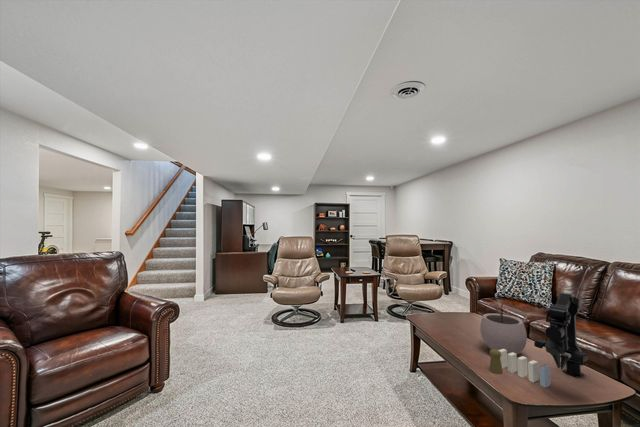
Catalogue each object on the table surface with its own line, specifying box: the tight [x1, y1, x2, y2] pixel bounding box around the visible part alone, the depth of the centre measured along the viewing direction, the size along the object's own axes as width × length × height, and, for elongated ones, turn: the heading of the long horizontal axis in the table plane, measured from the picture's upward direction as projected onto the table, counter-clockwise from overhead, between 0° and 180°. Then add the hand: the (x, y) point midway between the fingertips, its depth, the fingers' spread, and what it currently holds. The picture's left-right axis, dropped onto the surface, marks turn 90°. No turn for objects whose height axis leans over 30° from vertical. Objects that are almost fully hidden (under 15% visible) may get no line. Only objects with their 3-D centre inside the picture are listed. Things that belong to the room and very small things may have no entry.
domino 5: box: [538, 364, 551, 388], centre depth 134 cm, size 5×2×9 cm, turn 116°
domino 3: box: [517, 355, 529, 378], centre depth 143 cm, size 5×2×9 cm, turn 116°
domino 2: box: [507, 352, 518, 374], centre depth 148 cm, size 5×2×9 cm, turn 116°
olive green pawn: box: [488, 349, 503, 375], centre depth 148 cm, size 6×6×11 cm
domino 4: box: [527, 359, 540, 383], centre depth 139 cm, size 5×2×9 cm, turn 116°
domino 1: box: [498, 349, 508, 370], centre depth 152 cm, size 5×2×9 cm, turn 116°
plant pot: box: [479, 303, 528, 355], centre depth 170 cm, size 24×24×30 cm
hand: (560, 368), depth 129 cm, fingers closed
